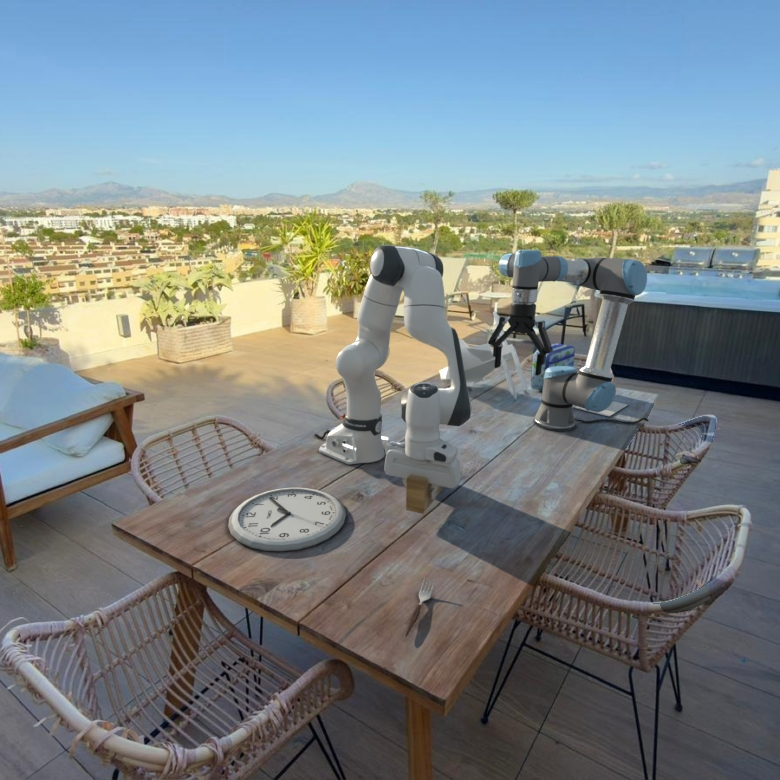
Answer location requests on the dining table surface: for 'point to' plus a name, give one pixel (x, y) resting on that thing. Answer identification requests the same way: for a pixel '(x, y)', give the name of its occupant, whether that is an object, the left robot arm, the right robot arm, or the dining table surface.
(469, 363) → the white plastic object
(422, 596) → the fork
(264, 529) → the wall clock
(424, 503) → the bar
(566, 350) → the lunch box
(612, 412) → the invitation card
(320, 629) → the dining table surface
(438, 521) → the dining table surface
